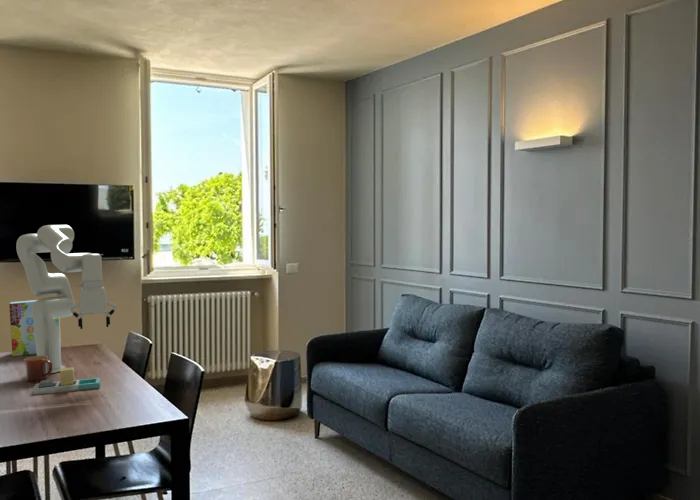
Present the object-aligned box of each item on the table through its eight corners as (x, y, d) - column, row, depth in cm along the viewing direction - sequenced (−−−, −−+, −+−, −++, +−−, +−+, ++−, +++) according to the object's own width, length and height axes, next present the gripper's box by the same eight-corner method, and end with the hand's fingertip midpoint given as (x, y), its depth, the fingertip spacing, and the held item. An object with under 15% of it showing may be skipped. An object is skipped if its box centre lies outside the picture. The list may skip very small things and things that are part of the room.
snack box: (61, 348, 330) (58, 298, 329) (61, 352, 322) (58, 300, 321) (12, 353, 322) (10, 301, 320) (11, 356, 314) (8, 303, 312)
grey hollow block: (40, 392, 245) (40, 383, 245) (41, 389, 249) (41, 380, 249) (53, 391, 246) (53, 382, 246) (54, 388, 250) (54, 379, 250)
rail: (33, 397, 242) (32, 389, 242) (35, 392, 250) (35, 383, 250) (100, 391, 250) (99, 382, 250) (100, 385, 258) (100, 377, 258)
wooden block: (60, 390, 247) (60, 370, 247) (61, 387, 251) (61, 368, 251) (73, 389, 249) (73, 369, 248) (74, 386, 253) (73, 367, 252)
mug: (19, 385, 261) (18, 359, 260) (37, 379, 269) (35, 355, 268) (43, 387, 257) (42, 361, 256) (60, 381, 265) (59, 356, 264)
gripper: (68, 287, 254) (70, 330, 255) (115, 284, 260) (117, 327, 261) (69, 285, 261) (71, 328, 262) (115, 282, 267) (117, 324, 268)
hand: (94, 327), depth 262 cm, fingers open, 9 cm apart
